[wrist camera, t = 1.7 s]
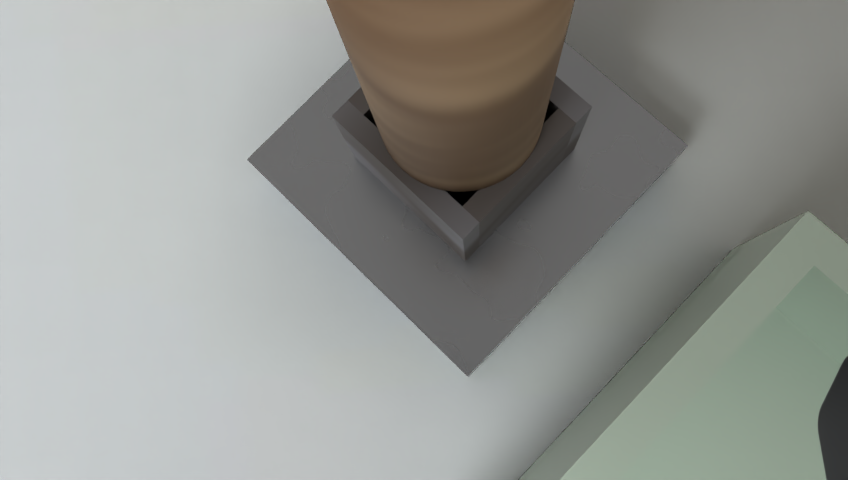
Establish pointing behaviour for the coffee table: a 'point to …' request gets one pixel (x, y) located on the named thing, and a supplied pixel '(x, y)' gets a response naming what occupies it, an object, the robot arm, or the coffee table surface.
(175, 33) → the coffee table surface
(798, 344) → the bin
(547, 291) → the square lid with knob
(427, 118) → the brown peg with base
